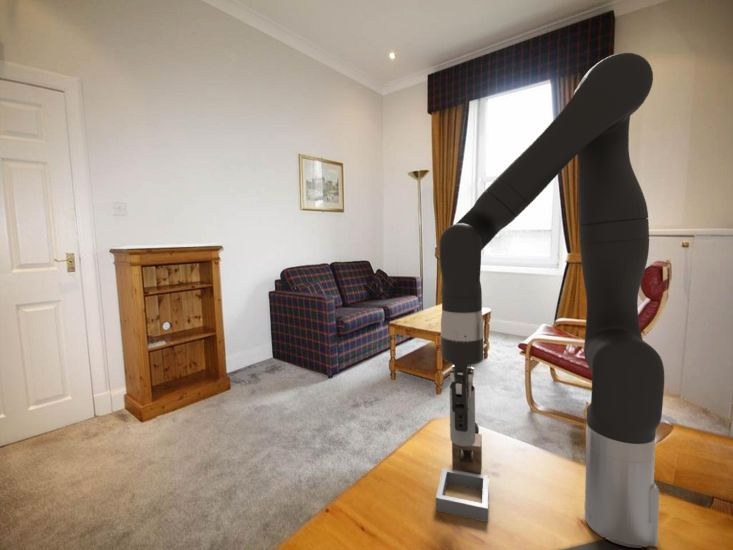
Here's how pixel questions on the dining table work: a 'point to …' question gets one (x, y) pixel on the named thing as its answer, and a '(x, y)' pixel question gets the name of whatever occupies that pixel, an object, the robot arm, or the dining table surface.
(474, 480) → the grey open frame
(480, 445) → the guide block
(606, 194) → the robot arm
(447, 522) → the dining table surface
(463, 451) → the shaft
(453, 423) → the grey cylinder
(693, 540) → the dining table surface
